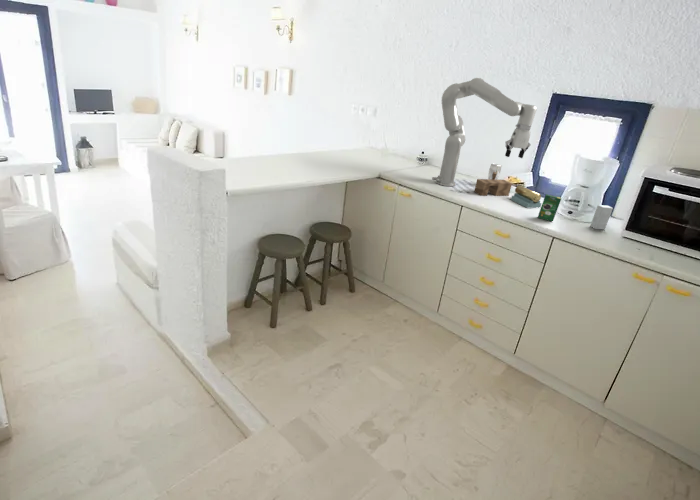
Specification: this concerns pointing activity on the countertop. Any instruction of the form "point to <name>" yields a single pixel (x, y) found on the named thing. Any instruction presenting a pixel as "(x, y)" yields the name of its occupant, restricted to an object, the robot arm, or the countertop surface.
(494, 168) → the beer glass
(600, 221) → the skincare box
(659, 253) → the countertop surface
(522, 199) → the v block
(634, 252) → the countertop surface
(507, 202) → the countertop surface
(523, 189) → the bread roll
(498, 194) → the beam
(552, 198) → the coffee box
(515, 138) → the robot arm
